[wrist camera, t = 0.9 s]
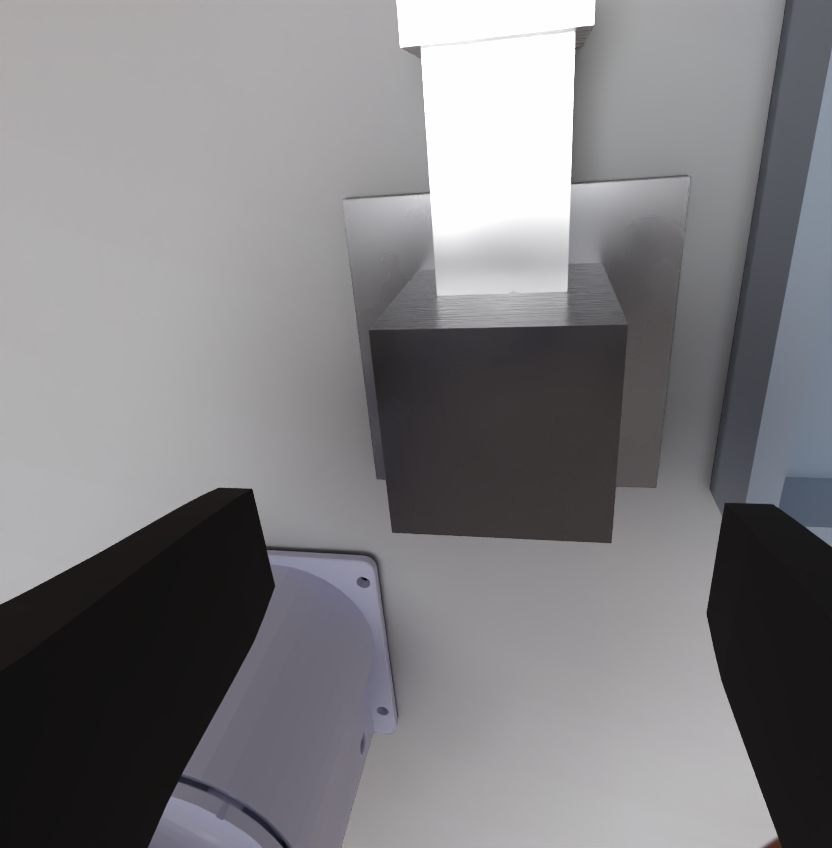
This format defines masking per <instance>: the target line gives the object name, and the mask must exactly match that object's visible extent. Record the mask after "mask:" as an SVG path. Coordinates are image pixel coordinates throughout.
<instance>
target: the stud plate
mask: <svg viewBox="0 0 832 848" xmlns="http://www.w3.org/2000/svg"><path fill="white" fill-rule="evenodd" d="M690 180H691V177H690V176H688V175H681V176H666V177H651V178H636V179H621V180H606V181H592V182H577V183H571V191H570V224H569V256H568V264H578V263H602V264H603V267H604V269H605V271H606V274H607V276H608V278H609V281H610V283H611V285H612V288H613V290H614V292H615V295H616V297H617V299H618V302H619V304H620V307H621V309H622V311H623V314H624V316H625V318H626V321H627V323H628V333H627V346H626V359H625V372H624V385H623V398H622V411H621V424H620V437H619V451H618V463H617V477H616V487H649V488H656V485H657V476H658V467H659V458H660V449H661V440H662V431H663V422H664V413H665V404H666V395H667V386H668V377H669V368H670V359H671V350H672V341H673V332H674V323H675V314H676V305H677V296H678V287H679V278H680V269H681V260H682V251H683V242H684V233H685V224H686V215H687V206H688V197H689V189H690ZM342 206H343V214H344V222H345V230H346V238H347V246H348V254H349V262H350V270H351V278H352V286H353V294H354V302H355V310H356V318H357V326H358V334H359V342H360V350H361V358H362V366H363V374H364V382H365V389H366V397H367V405H368V413H369V421H370V429H371V437H372V445H373V453H374V461H375V469H376V477H377V479H382V480H386V476H385V467H384V459H383V450H382V442H381V433H380V425H379V416H378V408H377V399H376V391H375V382H374V374H373V365H372V357H371V348H370V340H369V331H368V330H369V329H370V328H371V326H372V325H373V324H374V323H375V322H376V320H377V319H378V318H379V317H380V316H381V314H382V313H383V312H384V311H385V310H386V308H387V307H388V306H389V305H390V304H391V302H392V301H393V300H394V299H395V298H396V296H397V295H398V294H399V293H400V292H401V290H402V289H403V288H404V287H405V286H406V284H407V283H408V282H409V281H410V280H411V278H412V277H413V276H414V275H415V274H416V272H417V271H418V270H433V269H435V258H434V243H433V227H432V212H431V196H430V192H429V193H414V194H399V195H384V196H370V197H355V198H346V199H343V200H342Z"/></svg>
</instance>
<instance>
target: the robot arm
mask: <svg viewBox="0 0 832 848" xmlns="http://www.w3.org/2000/svg"><path fill="white" fill-rule="evenodd" d="M360 577H364V578H367V579H368V580H369V581H365V580H362V579H361V578H360ZM707 618H708V623H709V628H710V632H711V637H712V642H713V647H714V651H715V655H716V659H717V664H718V668H719V672H720V676H721V680H722V683H723V686H724V689H725V692H726V695H727V698H728V701H729V703H730V706H731V709H732V712H733V714H734V717H735V720H736V723H737V726H738V728H739V731H740V734H741V737H742V739H743V742H744V745H745V748H746V750H747V753H748V756H749V758H750V761H751V764H752V767H753V769H754V772H755V775H756V778H757V780H758V783H759V786H760V788H761V791H762V794H763V797H764V799H765V802H766V805H767V808H768V810H769V813H770V816H771V818H772V821H773V824H774V827H775V829H776V832H777V835H778V838H779V840H780V843H781V846H782V848H832V547H831V546H830V545H828V544H827V543H826V542H824V541H823V540H822V539H820V538H819V537H818V536H816V535H815V534H814V533H812V532H811V531H810V530H808V529H807V528H806V527H804V526H803V525H802V524H800V523H799V522H798V521H796V520H795V519H794V518H792V517H791V516H789V515H788V514H787V513H785V512H784V511H782V510H781V509H779V508H778V507H776V506H775V505H773V504H753V503H725V504H724V510H723V517H722V523H721V529H720V535H719V541H718V547H717V553H716V559H715V565H714V571H713V577H712V583H711V590H710V596H709V602H708V608H707ZM397 723H398V719H397V712H396V704H395V697H394V689H393V682H392V675H391V667H390V660H389V652H388V645H387V638H386V630H385V623H384V615H383V608H382V601H381V593H380V586H379V578H378V571H377V566H376V563H375V562H374V561H373V559H371V558H369V557H368V556H363V555H347V554H330V553H312V552H294V551H276V550H267V549H266V545H265V540H264V536H263V532H262V528H261V524H260V519H259V515H258V511H257V507H256V503H255V498H254V494H253V490H252V489H241V488H217V489H215V490H213V491H210V492H208V493H206V494H204V495H202V496H200V497H198V498H196V499H194V500H192V501H190V502H188V503H187V504H185V505H183V506H181V507H179V508H177V509H176V510H174V511H172V512H170V513H169V514H167V515H165V516H163V517H161V518H160V519H158V520H156V521H154V522H153V523H151V524H149V525H147V526H146V527H144V528H142V529H140V530H139V531H137V532H135V533H133V534H132V535H130V536H128V537H126V538H125V539H123V540H121V541H119V542H118V543H116V544H114V545H112V546H111V547H109V548H107V549H105V550H104V551H102V552H100V553H98V554H96V555H95V556H93V557H91V558H89V559H87V560H85V561H83V562H81V563H80V564H78V565H76V566H74V567H72V568H70V569H68V570H66V571H65V572H63V573H61V574H59V575H57V576H55V577H53V578H51V579H49V580H48V581H46V582H44V583H42V584H40V585H38V586H36V587H34V588H33V589H31V590H29V591H27V592H25V593H23V594H21V595H19V596H17V597H15V598H13V599H11V600H9V601H7V602H5V603H3V604H1V605H0V848H341V847H342V843H343V839H344V836H345V832H346V828H347V825H348V821H349V818H350V814H351V810H352V807H353V803H354V799H355V796H356V792H357V789H358V785H359V781H360V778H361V774H362V770H363V767H364V763H365V760H366V756H367V752H368V749H369V745H370V741H371V738H372V734H373V733H382V734H391V733H393V732H395V731H396V728H397Z"/></svg>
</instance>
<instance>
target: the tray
mask: <svg viewBox="0 0 832 848" xmlns="http://www.w3.org/2000/svg"><path fill="white" fill-rule="evenodd" d="M710 491H711V493H712V495H713V497H714V499H715V502H716V504H717V506H718V508H719V510H720V512H721V515H722V517H723V510H724V504H725V503H753V504H773V505H775V506H776V507H778V508H779V509H781V510H782V511H784V512H785V513H787V514H788V515H789V516H791V517H792V518H794V519H795V520H796V521H798V522H799V523H800V524H802V525H803V526H804V527H806V528H807V529H808V530H810V531H811V532H812V533H814V534H815V535H816V536H818V537H819V538H820V539H822V540H823V541H824V542H826V543H827V544H828V545H830V546H831V547H832V0H787V1H786V7H785V13H784V20H783V26H782V33H781V39H780V45H779V52H778V58H777V64H776V71H775V77H774V83H773V90H772V96H771V103H770V109H769V115H768V122H767V128H766V134H765V141H764V147H763V153H762V160H761V166H760V173H759V179H758V185H757V192H756V198H755V204H754V211H753V217H752V223H751V230H750V236H749V243H748V249H747V255H746V262H745V268H744V274H743V281H742V287H741V293H740V300H739V306H738V313H737V319H736V325H735V332H734V338H733V344H732V351H731V357H730V363H729V370H728V376H727V383H726V389H725V395H724V402H723V408H722V414H721V421H720V427H719V434H718V440H717V446H716V453H715V459H714V465H713V472H712V478H711V484H710Z"/></svg>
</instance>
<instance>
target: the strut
mask: <svg viewBox="0 0 832 848" xmlns="http://www.w3.org/2000/svg"><path fill="white" fill-rule="evenodd" d="M397 12H398V25H399V38H400V48H402V49H404V50H406V51H408V52H409V53H411V54H413V55H415V56H417V57H419V58H421V59H422V72H423V88H424V103H425V119H426V134H427V150H428V165H429V181H430V196H431V212H432V227H433V243H434V258H435V269H433V270H418V271H417V272H416V274H415V275H414V276H413V277H412V278H411V280H410V281H409V282H408V283H407V284H406V286H405V287H404V288H403V289H402V290H401V292H400V293H399V294H398V295H397V296H396V298H395V299H394V300H393V301H392V302H391V304H390V305H389V306H388V307H387V308H386V310H385V311H384V312H383V313H382V314H381V316H380V317H379V318H378V319H377V320H376V322H375V323H374V324H373V325H372V326H371V328H370V329H369V330H368V331H369V340H370V348H371V357H372V365H373V374H374V382H375V391H376V399H377V408H378V416H379V425H380V433H381V442H382V450H383V459H384V467H385V476H386V484H387V493H388V501H389V510H390V518H391V527H392V533H411V534H432V535H453V536H473V537H494V538H515V539H536V540H557V541H577V542H598V543H611V542H612V529H613V515H614V503H615V489H616V477H617V463H618V451H619V437H620V424H621V411H622V398H623V385H624V372H625V359H626V346H627V333H628V323H627V321H626V318H625V316H624V314H623V311H622V309H621V307H620V304H619V302H618V299H617V297H616V295H615V292H614V290H613V288H612V285H611V283H610V281H609V278H608V276H607V274H606V271H605V269H604V267H603V264H602V263H578V264H568V256H569V224H570V191H571V159H572V126H573V94H574V61H575V47H582V46H583V45H584V43H585V41H586V39H587V37H588V35H589V34H590V32H591V30H592V28H593V26H594V17H595V0H397Z"/></svg>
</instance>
